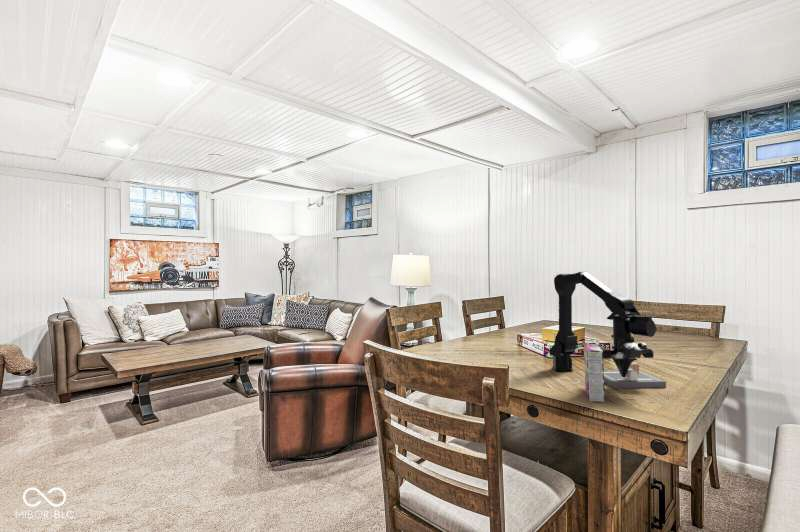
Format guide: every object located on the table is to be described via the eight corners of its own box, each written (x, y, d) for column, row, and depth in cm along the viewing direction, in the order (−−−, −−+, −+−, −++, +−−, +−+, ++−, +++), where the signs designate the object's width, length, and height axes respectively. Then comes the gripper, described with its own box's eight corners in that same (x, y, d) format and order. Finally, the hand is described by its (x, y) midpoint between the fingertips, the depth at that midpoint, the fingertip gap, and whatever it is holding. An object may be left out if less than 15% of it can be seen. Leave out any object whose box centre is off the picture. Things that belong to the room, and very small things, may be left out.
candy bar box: (584, 391, 137) (583, 343, 137) (600, 392, 135) (599, 344, 135) (587, 401, 126) (586, 349, 126) (605, 403, 124) (603, 350, 125)
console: (614, 388, 139) (613, 382, 139) (592, 376, 155) (592, 370, 155) (666, 387, 139) (666, 381, 139) (639, 375, 155) (639, 369, 155)
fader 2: (630, 380, 140) (630, 371, 140) (625, 377, 144) (624, 368, 144) (637, 380, 140) (637, 371, 140) (632, 377, 144) (631, 368, 144)
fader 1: (632, 372, 150) (632, 364, 150) (627, 370, 154) (627, 361, 154) (639, 372, 150) (639, 364, 150) (633, 370, 154) (633, 361, 154)
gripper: (606, 337, 135) (608, 383, 134) (663, 336, 134) (664, 382, 134) (591, 332, 146) (592, 375, 146) (643, 331, 145) (644, 374, 145)
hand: (623, 376), depth 142 cm, fingers closed
